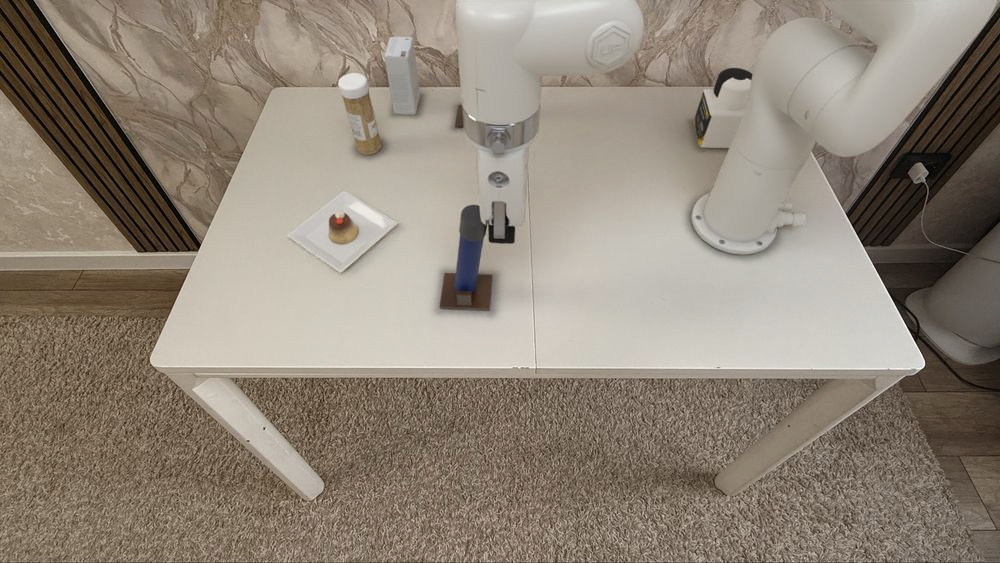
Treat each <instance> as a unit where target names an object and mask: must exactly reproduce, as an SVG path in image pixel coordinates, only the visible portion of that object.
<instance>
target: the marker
mask: <svg viewBox="0 0 1000 563" xmlns="http://www.w3.org/2000/svg"><path fill="white" fill-rule="evenodd" d="M458 230H459V231H458V232H459V241H458V250H457V261H456V267H455V268H456V269H455V273H456V276H455V290H456V291H457V290H458V291H471V293H473V292H474V291H475V289H476V283H477V277H478V274H479V270H480V265H481V258H482V252H483V246H484V240H485V236H486V235H487V231H488V223H487V224H486V225H485V224H484V223H483V222H482V221H481V217H480V207H479V204H469V205H466V206H465V207H464V208H463V209H462V210H461V211H460V222H459V229H458Z"/></svg>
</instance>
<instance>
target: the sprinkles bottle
mask: <svg viewBox="0 0 1000 563" xmlns="http://www.w3.org/2000/svg"><path fill="white" fill-rule="evenodd" d="M337 86H338V91H339V93H340V95H341V97H342V100H343V103H344V107H345V112H346V115H347V120H348V123H349V126H350V129H351V132H352V136H353V138H354V142H355V148H356V150H357V152H358V153H359V154H362V155H364V156H370V155H371V156H372V155H374V154H377V153H378V152H380V151H381V149H382V148H383V147H382V146H383V142H382V140H381V136H380V133H379V127H378V123H377V118H376V115H375V111H374V106H373V104H372V99H371V96H370V95H371V94H370V87H369V81H368V78H367V77H366V76H365V75H364V74H362V73H360V72H350V73H347V74H344V75H342V76H341V77H340V78H339V79H338V82H337Z"/></svg>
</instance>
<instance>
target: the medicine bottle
mask: <svg viewBox="0 0 1000 563" xmlns="http://www.w3.org/2000/svg"><path fill="white" fill-rule="evenodd" d="M752 74H753V72H750V71H749V70H747V69H744V68H739V67H729V68H725V69H723V70H721V71H720V72H719V73H718V75H717V78H716V81H715V83H714V87H713V88H705V89H703V92H702V94H701V97H700V100H699V103H698V106H697V108H696V112H695V115H694V118H693V122H692V124H693V127H694V130H695V135H696V138H697V143H698V146H699V148H701V149H702V148H703V149H729V148H730V145H731V143H732V140H733V138H734V136H735V133H736V131H737V129H738V126H739V124H740V121H741V119H742V116H743V114H744V111H745V108H746V105H747V101H748V97H749V92H750V86H751V80H752Z"/></svg>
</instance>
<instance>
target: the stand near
mask: <svg viewBox="0 0 1000 563" xmlns="http://www.w3.org/2000/svg"><path fill="white" fill-rule="evenodd" d="M455 276H456V272H444V274H443V282H442V288H441V295H440V302H439V309H440V310H455V311H457V310H459V311H479V312H480V311H481V312H490V311H491V303H492V302H491V301H492V289H493V276H494V275H493V274H487V273H483V274H482V273H478V277H477V283H476V289H475V291H474V292H473V293H471V291H458V290H457V291H456V290H455Z"/></svg>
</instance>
